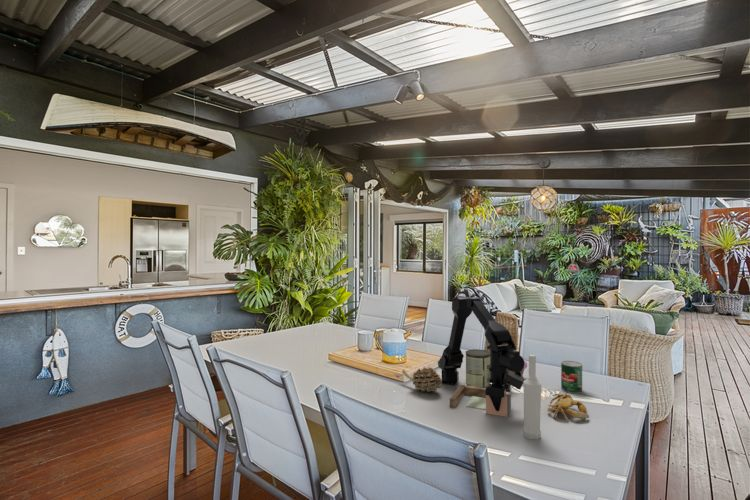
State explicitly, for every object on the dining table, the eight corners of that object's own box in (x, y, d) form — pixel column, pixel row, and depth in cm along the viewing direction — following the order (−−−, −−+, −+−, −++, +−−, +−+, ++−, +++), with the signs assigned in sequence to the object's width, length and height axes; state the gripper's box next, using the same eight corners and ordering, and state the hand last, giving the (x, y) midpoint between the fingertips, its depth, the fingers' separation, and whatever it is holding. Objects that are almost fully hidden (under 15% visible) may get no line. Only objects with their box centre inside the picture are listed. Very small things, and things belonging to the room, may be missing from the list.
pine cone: (448, 393, 164) (448, 368, 164) (433, 399, 157) (433, 373, 157) (407, 380, 180) (407, 357, 180) (392, 385, 173) (392, 362, 173)
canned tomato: (582, 388, 169) (582, 362, 169) (582, 394, 162) (582, 367, 162) (561, 385, 173) (561, 359, 173) (560, 391, 165) (561, 364, 165)
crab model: (587, 427, 134) (587, 410, 134) (545, 418, 140) (545, 402, 140) (589, 410, 147) (590, 395, 147) (551, 403, 153) (551, 389, 153)
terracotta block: (485, 413, 144) (485, 393, 144) (487, 408, 148) (488, 389, 148) (509, 417, 141) (509, 396, 141) (511, 412, 145) (511, 392, 145)
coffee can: (466, 380, 180) (467, 348, 180) (491, 382, 176) (491, 350, 176) (464, 388, 170) (464, 354, 170) (489, 390, 167) (489, 356, 167)
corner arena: (449, 406, 150) (449, 398, 150) (460, 391, 165) (460, 384, 165) (494, 414, 143) (494, 405, 143) (501, 397, 159) (501, 390, 159)
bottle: (520, 432, 129) (520, 353, 129) (536, 431, 130) (536, 353, 130) (527, 440, 124) (528, 357, 124) (544, 439, 125) (544, 357, 124)
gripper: (520, 374, 133) (520, 422, 133) (524, 360, 150) (524, 402, 150) (485, 370, 137) (485, 416, 137) (493, 356, 154) (493, 398, 154)
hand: (498, 408), depth 145 cm, fingers closed on terracotta block, 4 cm apart
